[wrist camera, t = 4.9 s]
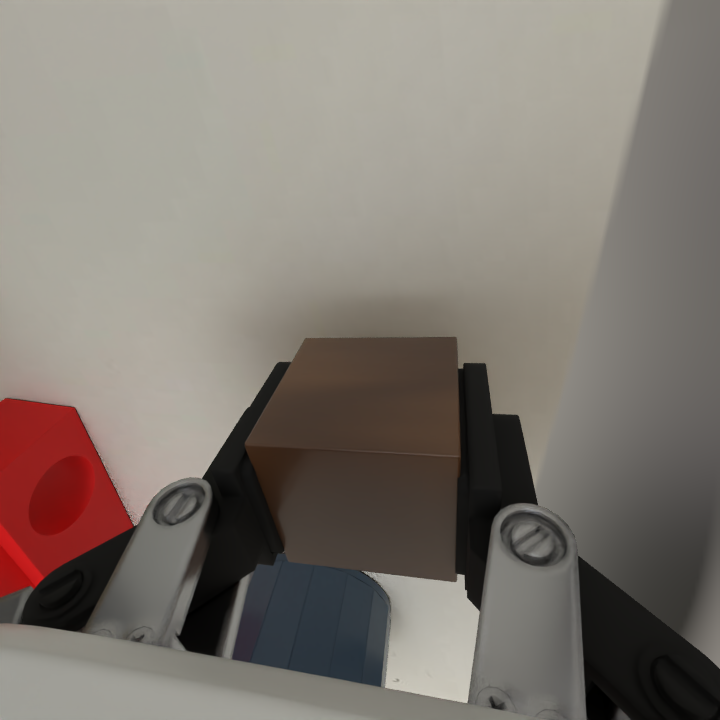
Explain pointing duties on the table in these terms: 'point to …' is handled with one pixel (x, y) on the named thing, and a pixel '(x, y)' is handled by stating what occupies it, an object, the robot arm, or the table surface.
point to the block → (365, 455)
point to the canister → (315, 622)
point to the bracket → (50, 493)
